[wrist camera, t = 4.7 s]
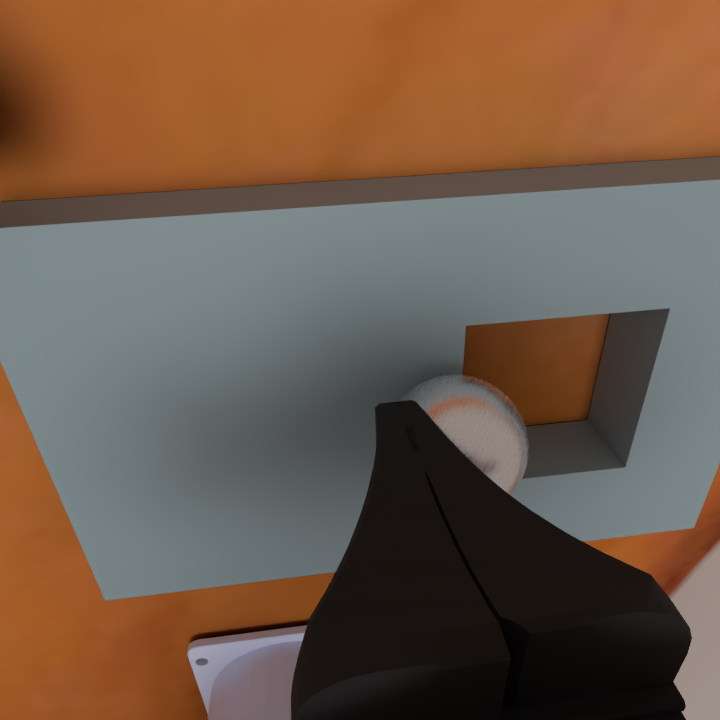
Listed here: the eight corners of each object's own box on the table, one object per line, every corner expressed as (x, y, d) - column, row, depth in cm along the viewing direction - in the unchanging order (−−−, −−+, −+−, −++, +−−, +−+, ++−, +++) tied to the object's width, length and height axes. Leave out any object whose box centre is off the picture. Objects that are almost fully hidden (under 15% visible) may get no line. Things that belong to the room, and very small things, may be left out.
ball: (488, 569, 13) (356, 509, 14) (518, 465, 15) (404, 420, 16) (533, 482, 10) (370, 416, 11) (559, 376, 13) (425, 329, 14)
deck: (652, 478, 21) (693, 527, 19) (125, 538, 19) (105, 600, 17) (755, 154, 15) (834, 171, 13) (-1, 201, 13) (-56, 232, 11)
